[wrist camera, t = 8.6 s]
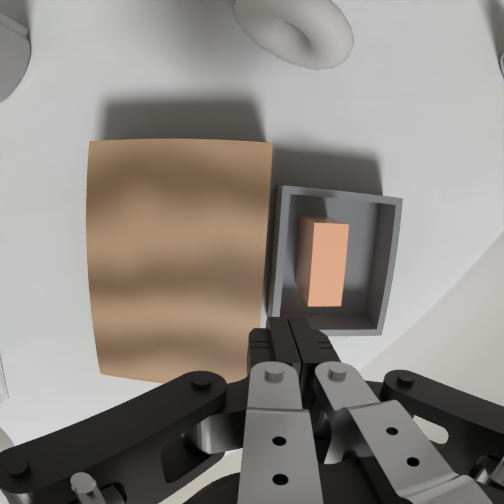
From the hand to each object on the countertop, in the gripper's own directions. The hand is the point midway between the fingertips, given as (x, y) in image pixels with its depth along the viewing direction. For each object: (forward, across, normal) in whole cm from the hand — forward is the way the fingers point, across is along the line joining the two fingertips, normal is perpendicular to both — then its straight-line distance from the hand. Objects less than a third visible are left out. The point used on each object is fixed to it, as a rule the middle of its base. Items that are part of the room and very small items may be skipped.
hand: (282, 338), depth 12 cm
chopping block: (+17, +7, +1) cm, 18 cm away
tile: (+13, -3, -1) cm, 13 cm away
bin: (+17, -6, 0) cm, 18 cm away
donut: (+17, -1, -19) cm, 25 cm away
